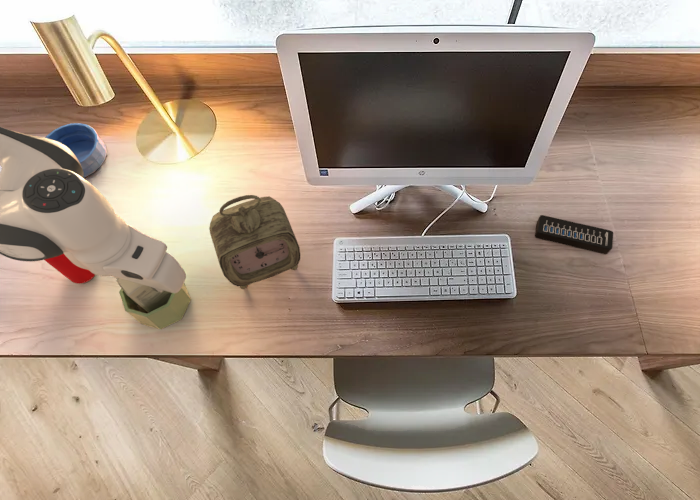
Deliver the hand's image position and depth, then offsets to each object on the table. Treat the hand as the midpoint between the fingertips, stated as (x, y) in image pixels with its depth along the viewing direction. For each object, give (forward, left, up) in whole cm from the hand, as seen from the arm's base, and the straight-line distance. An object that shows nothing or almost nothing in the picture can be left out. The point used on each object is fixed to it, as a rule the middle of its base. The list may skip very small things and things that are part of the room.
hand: (142, 283), depth 90 cm
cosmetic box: (0, 0, -9) cm, 9 cm away
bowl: (-36, +28, -9) cm, 46 cm away
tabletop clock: (+17, +13, -10) cm, 24 cm away
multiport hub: (+76, +36, -10) cm, 85 cm away
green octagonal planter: (0, 0, -9) cm, 9 cm away
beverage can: (-19, +2, -10) cm, 21 cm away
